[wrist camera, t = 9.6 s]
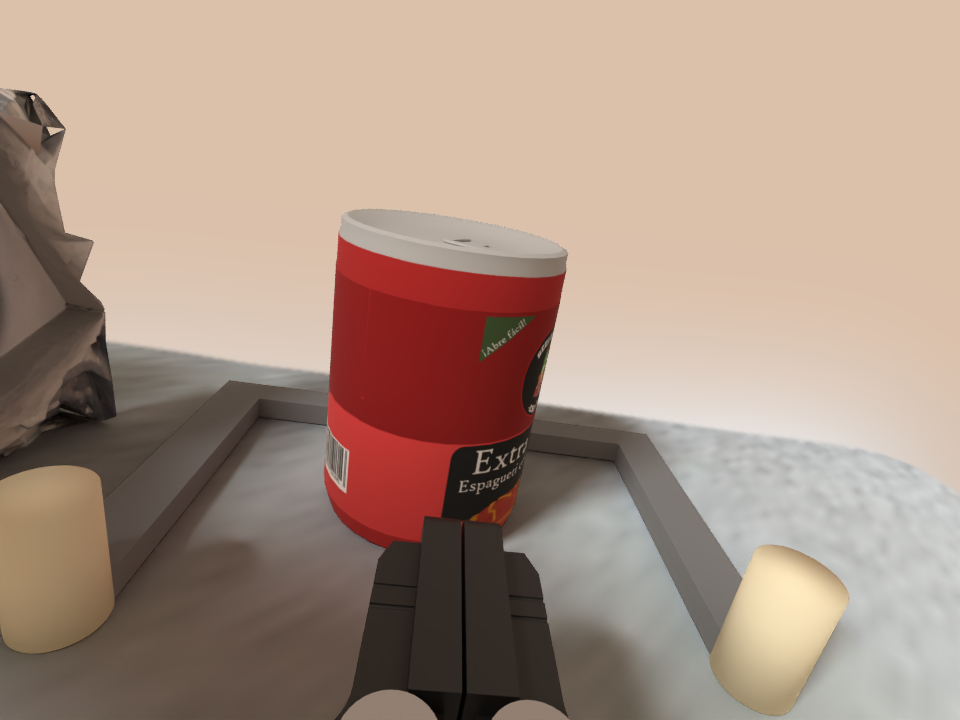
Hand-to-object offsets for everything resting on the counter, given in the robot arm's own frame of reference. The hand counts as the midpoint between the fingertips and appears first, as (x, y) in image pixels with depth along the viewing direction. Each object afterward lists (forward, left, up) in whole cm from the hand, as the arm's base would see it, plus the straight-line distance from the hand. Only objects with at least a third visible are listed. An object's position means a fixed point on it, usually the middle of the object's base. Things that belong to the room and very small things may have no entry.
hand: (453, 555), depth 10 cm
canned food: (-1, +10, -6) cm, 12 cm away
